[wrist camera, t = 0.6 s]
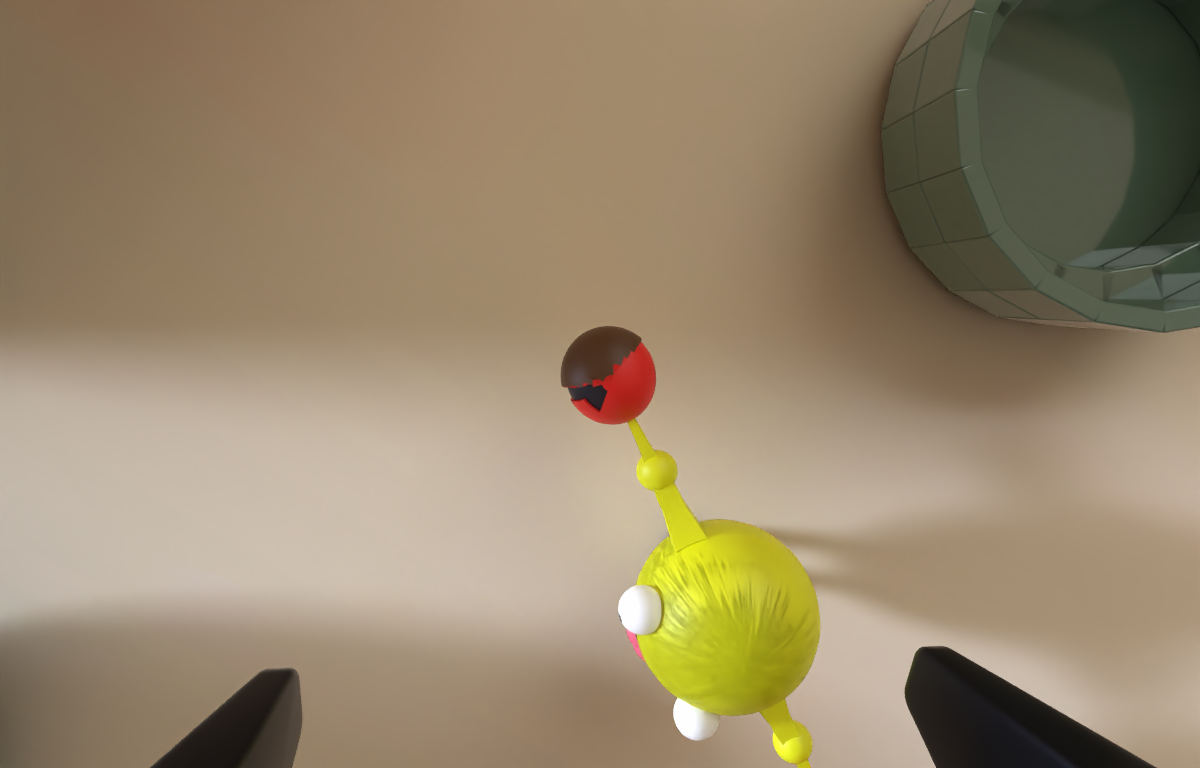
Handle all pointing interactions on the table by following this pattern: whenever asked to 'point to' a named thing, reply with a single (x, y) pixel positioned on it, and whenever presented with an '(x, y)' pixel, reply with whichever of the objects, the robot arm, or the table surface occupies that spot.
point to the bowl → (1053, 158)
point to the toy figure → (702, 576)
